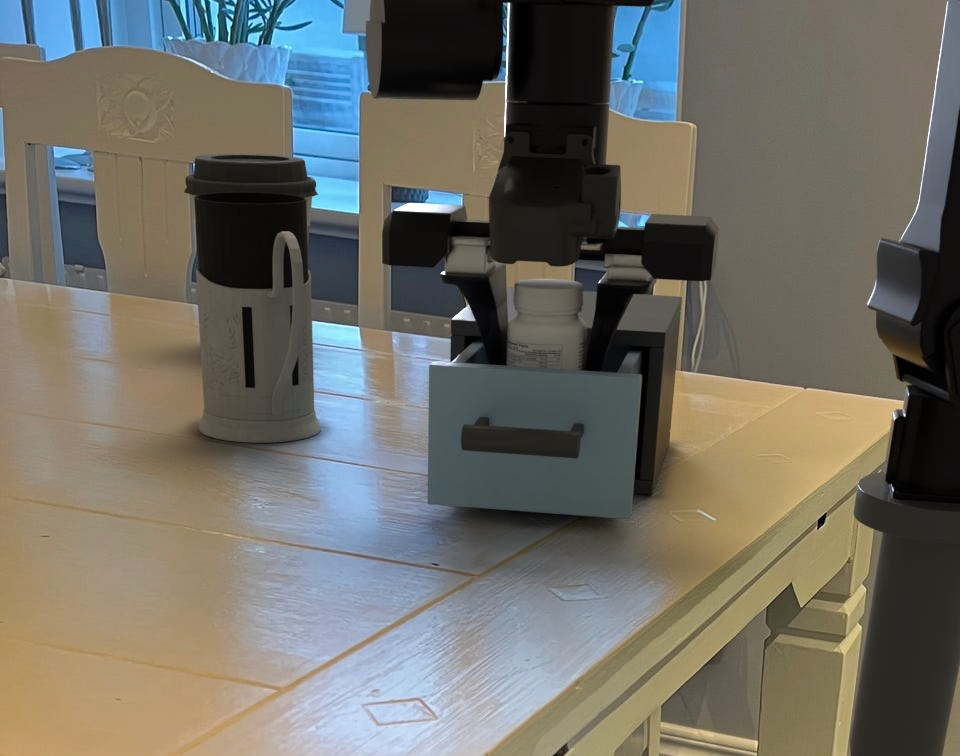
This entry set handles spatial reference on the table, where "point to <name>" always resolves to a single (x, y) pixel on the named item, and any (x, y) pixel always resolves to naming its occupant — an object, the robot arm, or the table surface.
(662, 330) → the cabinet
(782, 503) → the table surface
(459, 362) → the drawer
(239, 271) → the glass holder
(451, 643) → the table surface
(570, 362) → the pill bottle
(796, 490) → the table surface
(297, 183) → the coffee cup
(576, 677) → the table surface
